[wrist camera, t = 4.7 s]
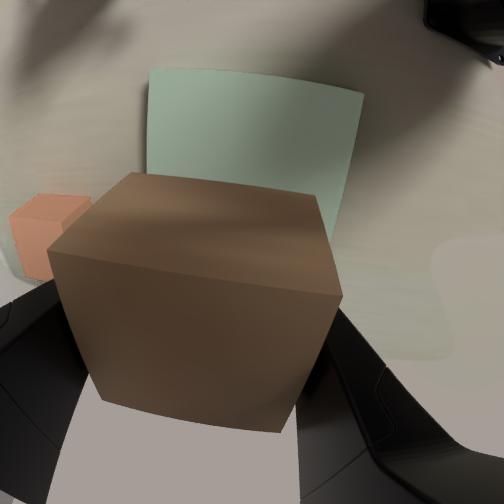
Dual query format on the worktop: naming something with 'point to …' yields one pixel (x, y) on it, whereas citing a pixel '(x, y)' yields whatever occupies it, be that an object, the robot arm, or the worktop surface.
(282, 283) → the walnut brick
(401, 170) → the worktop surface
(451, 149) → the worktop surface
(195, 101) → the base plate
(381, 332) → the worktop surface
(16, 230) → the terracotta brick
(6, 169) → the worktop surface
